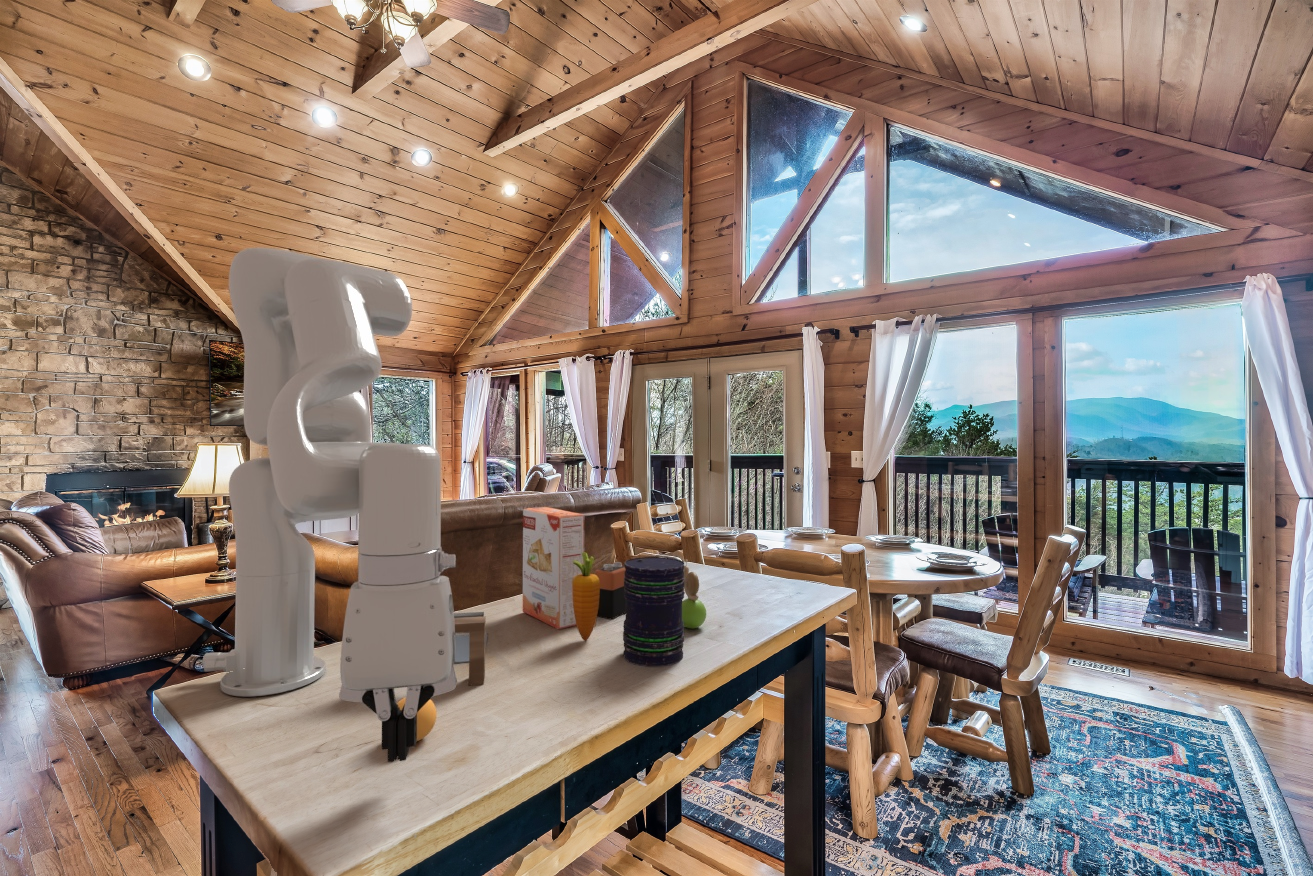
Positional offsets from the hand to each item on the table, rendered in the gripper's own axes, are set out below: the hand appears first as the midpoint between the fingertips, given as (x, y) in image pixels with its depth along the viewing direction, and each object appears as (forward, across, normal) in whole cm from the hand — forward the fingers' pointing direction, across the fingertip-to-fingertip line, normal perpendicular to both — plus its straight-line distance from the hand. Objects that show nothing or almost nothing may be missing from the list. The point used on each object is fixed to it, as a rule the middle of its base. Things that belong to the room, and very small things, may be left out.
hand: (399, 754), depth 59 cm
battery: (+3, -30, -55) cm, 63 cm away
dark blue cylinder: (+4, -33, -31) cm, 45 cm away
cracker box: (+3, -18, -54) cm, 57 cm away
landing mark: (+3, 0, -40) cm, 40 cm away
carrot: (+3, -23, -40) cm, 46 cm away
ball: (+1, 0, -10) cm, 10 cm away
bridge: (+3, 0, -26) cm, 26 cm away
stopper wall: (+3, 0, -51) cm, 51 cm away
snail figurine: (+3, -43, -44) cm, 61 cm away
